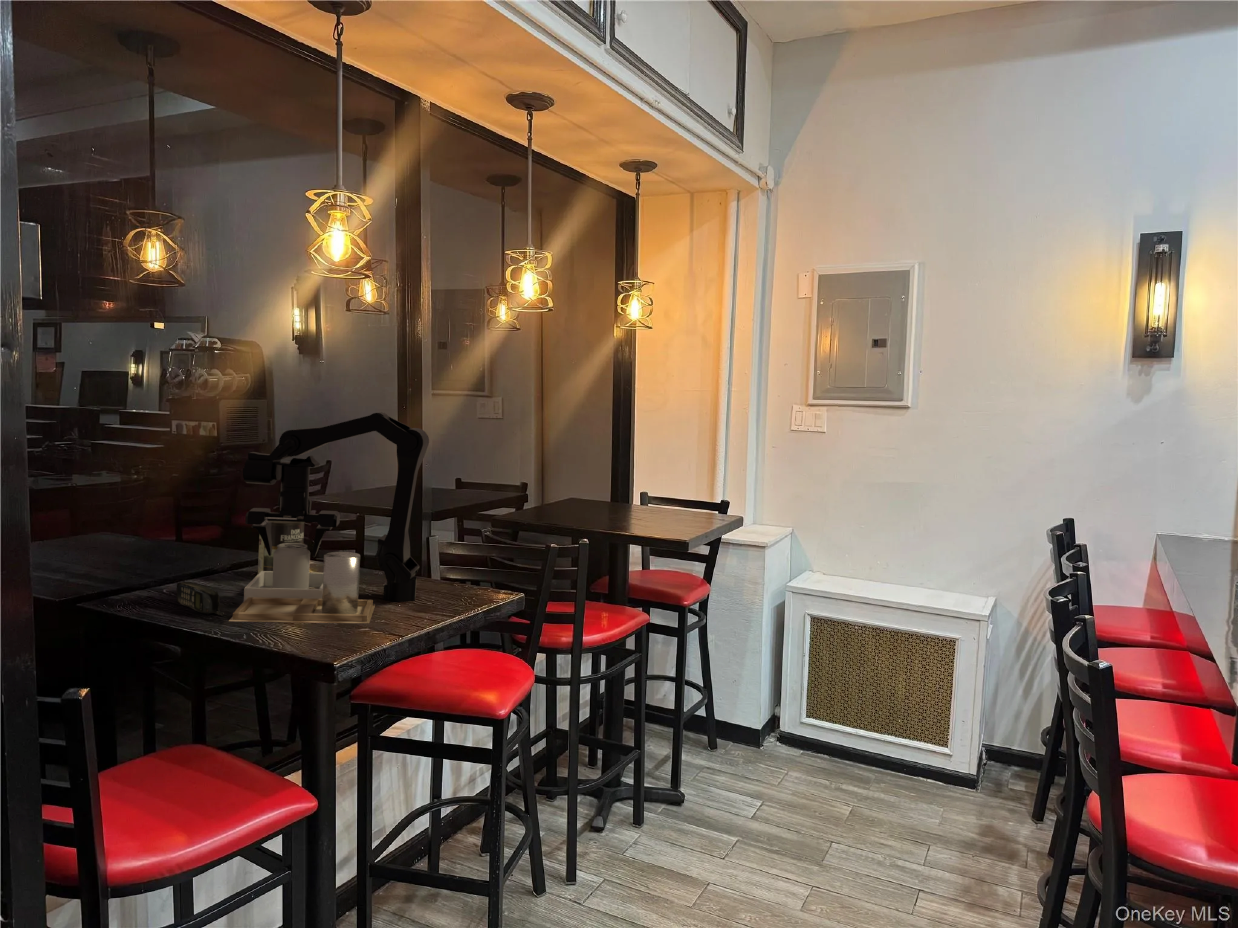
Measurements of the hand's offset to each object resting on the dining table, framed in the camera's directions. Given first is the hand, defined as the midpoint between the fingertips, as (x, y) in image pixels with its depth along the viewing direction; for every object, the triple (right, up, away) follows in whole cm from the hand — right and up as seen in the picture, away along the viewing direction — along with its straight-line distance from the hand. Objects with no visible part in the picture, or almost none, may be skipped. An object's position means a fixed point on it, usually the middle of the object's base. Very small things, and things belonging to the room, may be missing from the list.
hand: (292, 556), depth 179 cm
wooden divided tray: (+8, -11, -13) cm, 19 cm away
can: (-1, -10, +1) cm, 10 cm away
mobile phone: (-14, -10, -12) cm, 21 cm away
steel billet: (+15, -10, -12) cm, 22 cm away
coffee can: (-11, -7, +19) cm, 23 cm away
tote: (-1, -9, +1) cm, 10 cm away
